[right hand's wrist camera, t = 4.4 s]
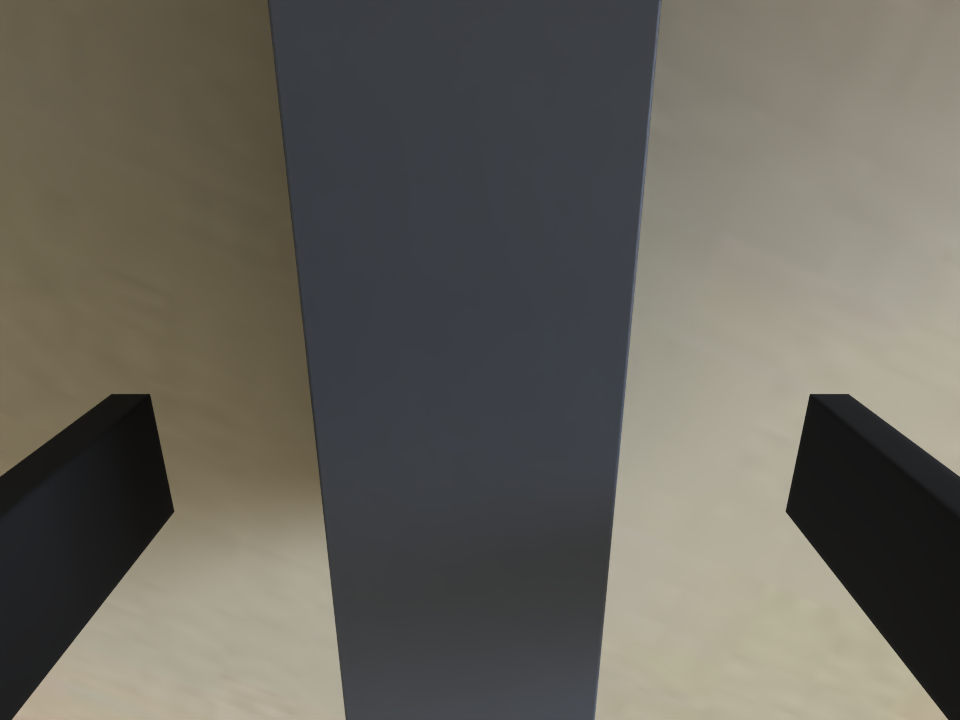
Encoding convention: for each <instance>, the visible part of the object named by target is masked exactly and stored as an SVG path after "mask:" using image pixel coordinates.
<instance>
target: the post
mask: <svg viewBox="0 0 960 720" xmlns="http://www.w3.org/2000/svg"><path fill="white" fill-rule="evenodd" d="M268 7H269V16H270V25H271V34H272V44H273V53H274V62H275V71H276V80H277V90H278V99H279V108H280V117H281V126H282V136H283V145H284V154H285V163H286V173H287V182H288V191H289V200H290V209H291V219H292V228H293V237H294V246H295V255H296V265H297V274H298V283H299V292H300V302H301V311H302V320H303V329H304V338H305V348H306V357H307V366H308V375H309V384H310V394H311V403H312V412H313V421H314V430H315V440H316V449H317V458H318V467H319V477H320V486H321V495H322V504H323V513H324V523H325V532H326V541H327V550H328V559H329V569H330V578H331V587H332V596H333V606H334V615H335V624H336V633H337V642H338V652H339V661H340V670H341V679H342V688H343V698H344V707H345V716H346V720H595V710H596V699H597V689H598V678H599V667H600V656H601V645H602V635H603V624H604V613H605V602H606V592H607V581H608V570H609V559H610V548H611V538H612V527H613V516H614V505H615V495H616V484H617V473H618V462H619V452H620V441H621V430H622V419H623V408H624V398H625V387H626V376H627V365H628V355H629V344H630V333H631V322H632V312H633V301H634V290H635V279H636V268H637V258H638V247H639V236H640V225H641V215H642V204H643V193H644V182H645V172H646V161H647V150H648V139H649V128H650V118H651V107H652V96H653V85H654V75H655V64H656V53H657V42H658V32H659V21H660V10H661V0H268Z"/></svg>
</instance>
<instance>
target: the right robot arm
mask: <svg viewBox="0 0 960 720" xmlns="http://www.w3.org/2000/svg"><path fill="white" fill-rule="evenodd" d="M173 513H174V508H173V503H172V498H171V493H170V488H169V484H168V479H167V474H166V469H165V464H164V459H163V455H162V450H161V445H160V440H159V435H158V430H157V426H156V421H155V416H154V411H153V406H152V401H151V396H150V394H111V395H110V396H108V397H107V398H106V399H104V400H103V401H102V402H100V403H99V404H98V405H96V406H95V407H94V408H92V409H91V410H90V411H88V412H87V413H86V414H84V415H83V416H81V417H80V418H79V419H77V420H76V421H75V422H73V423H72V424H71V425H69V426H68V427H67V428H65V429H64V430H63V431H61V432H60V433H59V434H57V435H56V436H55V437H53V438H52V439H51V440H49V441H48V442H46V443H45V444H44V445H42V446H41V447H40V448H38V449H37V450H36V451H34V452H33V453H32V454H30V455H29V456H28V457H26V458H25V459H24V460H22V461H21V462H20V463H18V464H17V465H16V466H14V467H13V468H12V469H10V470H9V471H7V472H6V473H5V474H3V475H2V476H1V477H0V720H12V719H13V717H14V716H15V715H16V714H17V712H18V711H19V710H20V708H21V707H22V706H23V705H24V703H25V702H26V701H27V699H28V698H29V697H30V696H31V694H32V693H33V692H34V690H35V689H36V688H37V687H38V685H39V684H40V683H41V682H42V680H43V679H44V678H45V676H46V675H47V674H48V673H49V671H50V670H51V669H52V667H53V666H54V665H55V664H56V662H57V661H58V660H59V658H60V657H61V656H62V655H63V653H64V652H65V651H66V650H67V648H68V647H69V646H70V644H71V643H72V642H73V641H74V639H75V638H76V637H77V635H78V634H79V633H80V632H81V630H82V629H83V628H84V626H85V625H86V624H87V623H88V621H89V620H90V619H91V618H92V616H93V615H94V614H95V612H96V611H97V610H98V609H99V607H100V606H101V605H102V603H103V602H104V601H105V600H106V598H107V597H108V596H109V595H110V593H111V592H112V591H113V589H114V588H115V587H116V586H117V584H118V583H119V582H120V580H121V579H122V578H123V577H124V575H125V574H126V573H127V571H128V570H129V569H130V568H131V566H132V565H133V564H134V563H135V561H136V560H137V559H138V557H139V556H140V555H141V554H142V552H143V551H144V550H145V548H146V547H147V546H148V545H149V543H150V542H151V541H152V539H153V538H154V537H155V536H156V534H157V533H158V532H159V531H160V529H161V528H162V527H163V525H164V524H165V523H166V522H167V520H168V519H169V518H170V516H171V515H172V514H173ZM786 513H787V514H788V515H789V516H790V518H791V519H792V520H793V522H794V523H795V524H796V525H797V527H798V528H799V529H800V531H801V532H802V533H803V534H804V536H805V537H806V538H807V539H808V541H809V542H810V543H811V545H812V546H813V547H814V548H815V550H816V551H817V552H818V554H819V555H820V556H821V557H822V559H823V560H824V561H825V563H826V564H827V565H828V566H829V568H830V569H831V570H832V571H833V573H834V574H835V575H836V577H837V578H838V579H839V580H840V582H841V583H842V584H843V586H844V587H845V588H846V589H847V591H848V592H849V593H850V595H851V596H852V597H853V598H854V600H855V601H856V602H857V603H858V605H859V606H860V607H861V609H862V610H863V611H864V612H865V614H866V615H867V616H868V618H869V619H870V620H871V621H872V623H873V624H874V625H875V626H876V628H877V629H878V630H879V632H880V633H881V634H882V635H883V637H884V638H885V639H886V641H887V642H888V643H889V644H890V646H891V647H892V648H893V650H894V651H895V652H896V653H897V655H898V656H899V657H900V658H901V660H902V661H903V662H904V664H905V665H906V666H907V667H908V669H909V670H910V671H911V673H912V674H913V675H914V676H915V678H916V679H917V680H918V682H919V683H920V684H921V685H922V687H923V688H924V689H925V690H926V692H927V693H928V694H929V696H930V697H931V698H932V699H933V701H934V702H935V703H936V705H937V706H938V707H939V708H940V710H941V711H942V712H943V714H944V715H945V716H946V717H947V719H948V720H960V477H959V476H958V475H957V474H955V473H954V472H953V471H951V470H950V469H948V468H947V467H946V466H944V465H943V464H942V463H940V462H939V461H938V460H936V459H935V458H934V457H932V456H931V455H930V454H928V453H927V452H926V451H924V450H923V449H922V448H920V447H919V446H918V445H916V444H915V443H914V442H912V441H911V440H909V439H908V438H907V437H905V436H904V435H903V434H901V433H900V432H899V431H897V430H896V429H895V428H893V427H892V426H891V425H889V424H888V423H887V422H885V421H884V420H883V419H881V418H880V417H879V416H877V415H876V414H874V413H873V412H872V411H870V410H869V409H868V408H866V407H865V406H864V405H862V404H861V403H860V402H858V401H857V400H856V399H854V398H853V397H852V396H850V395H849V394H810V396H809V401H808V406H807V411H806V416H805V421H804V426H803V430H802V435H801V440H800V445H799V450H798V455H797V459H796V464H795V469H794V474H793V479H792V484H791V488H790V493H789V498H788V503H787V508H786Z"/></svg>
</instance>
